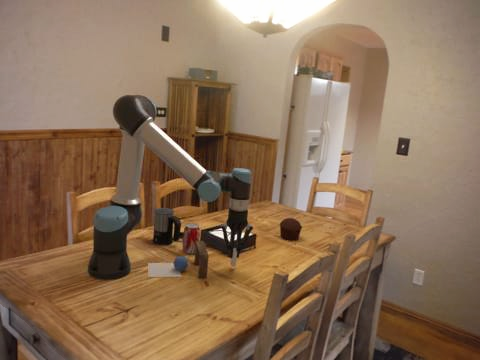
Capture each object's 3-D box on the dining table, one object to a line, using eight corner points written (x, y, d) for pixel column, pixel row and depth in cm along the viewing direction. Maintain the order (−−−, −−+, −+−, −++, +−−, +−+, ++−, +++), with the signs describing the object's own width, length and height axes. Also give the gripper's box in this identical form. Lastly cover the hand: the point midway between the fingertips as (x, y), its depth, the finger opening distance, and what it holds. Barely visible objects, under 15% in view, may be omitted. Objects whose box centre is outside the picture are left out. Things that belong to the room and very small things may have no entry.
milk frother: (148, 243, 178) (150, 211, 175) (163, 232, 193) (165, 203, 190) (178, 249, 174) (180, 216, 171) (191, 237, 189) (193, 207, 186)
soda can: (195, 256, 169) (197, 229, 166) (179, 253, 170) (181, 226, 167) (200, 250, 175) (202, 224, 173) (185, 247, 177) (187, 221, 174)
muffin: (304, 241, 199) (307, 222, 197) (285, 242, 195) (287, 223, 193) (293, 233, 210) (295, 215, 207) (274, 234, 205) (276, 215, 203)
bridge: (198, 278, 149) (200, 255, 147) (194, 262, 163) (196, 240, 161) (206, 278, 150) (208, 255, 148) (201, 262, 163) (203, 240, 161)
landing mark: (148, 277, 146) (148, 277, 146) (148, 263, 157) (148, 263, 157) (181, 277, 149) (181, 276, 148) (178, 263, 160) (178, 263, 160)
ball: (189, 271, 152) (175, 274, 151) (188, 265, 157) (174, 268, 156) (187, 258, 151) (173, 261, 150) (186, 252, 156) (172, 255, 155)
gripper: (223, 210, 149) (218, 269, 154) (257, 211, 152) (251, 269, 157) (220, 205, 156) (215, 261, 161) (252, 206, 159) (246, 261, 164)
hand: (233, 265), depth 159 cm, fingers closed
